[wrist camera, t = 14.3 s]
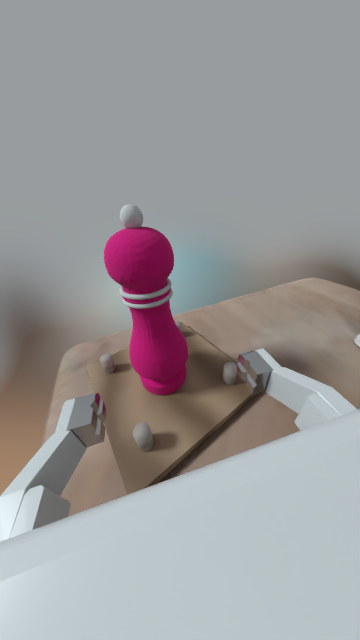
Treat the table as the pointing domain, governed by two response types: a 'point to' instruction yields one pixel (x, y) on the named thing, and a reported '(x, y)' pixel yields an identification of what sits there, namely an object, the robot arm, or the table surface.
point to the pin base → (165, 409)
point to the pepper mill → (148, 302)
